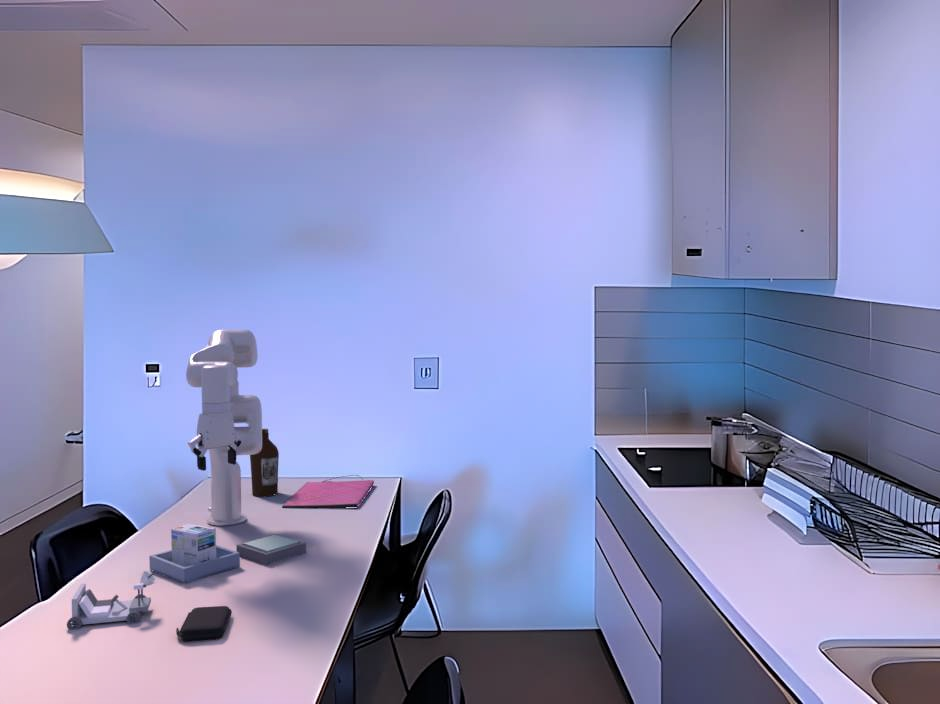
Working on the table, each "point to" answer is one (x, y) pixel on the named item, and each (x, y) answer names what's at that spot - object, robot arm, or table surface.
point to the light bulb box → (193, 544)
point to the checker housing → (271, 556)
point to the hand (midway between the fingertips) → (217, 466)
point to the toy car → (109, 606)
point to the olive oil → (265, 468)
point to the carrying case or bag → (205, 623)
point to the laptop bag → (330, 494)
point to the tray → (184, 575)
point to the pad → (271, 543)
